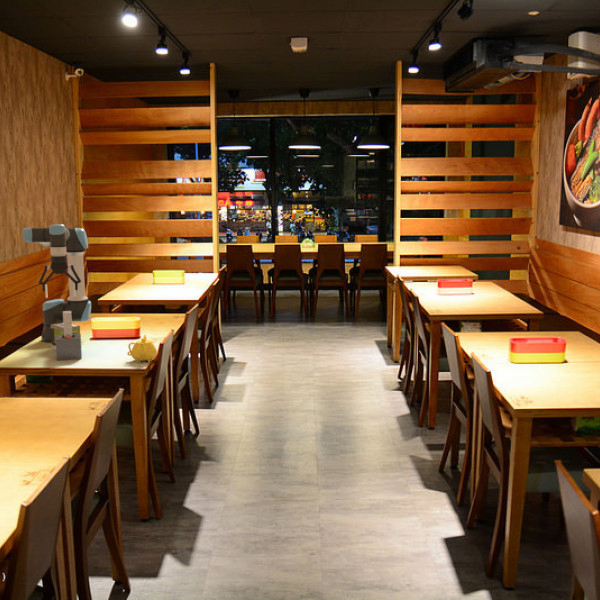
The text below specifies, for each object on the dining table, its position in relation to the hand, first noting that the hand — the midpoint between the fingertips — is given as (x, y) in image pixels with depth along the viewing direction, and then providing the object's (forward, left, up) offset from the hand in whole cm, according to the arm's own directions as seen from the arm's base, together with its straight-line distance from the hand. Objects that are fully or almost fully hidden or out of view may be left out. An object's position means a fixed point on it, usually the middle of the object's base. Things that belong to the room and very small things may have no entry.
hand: (60, 297), depth 354 cm
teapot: (-4, +40, -33) cm, 52 cm away
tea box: (-18, -8, -33) cm, 38 cm away
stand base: (-1, +2, -32) cm, 33 cm away
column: (-1, +2, -31) cm, 31 cm away
